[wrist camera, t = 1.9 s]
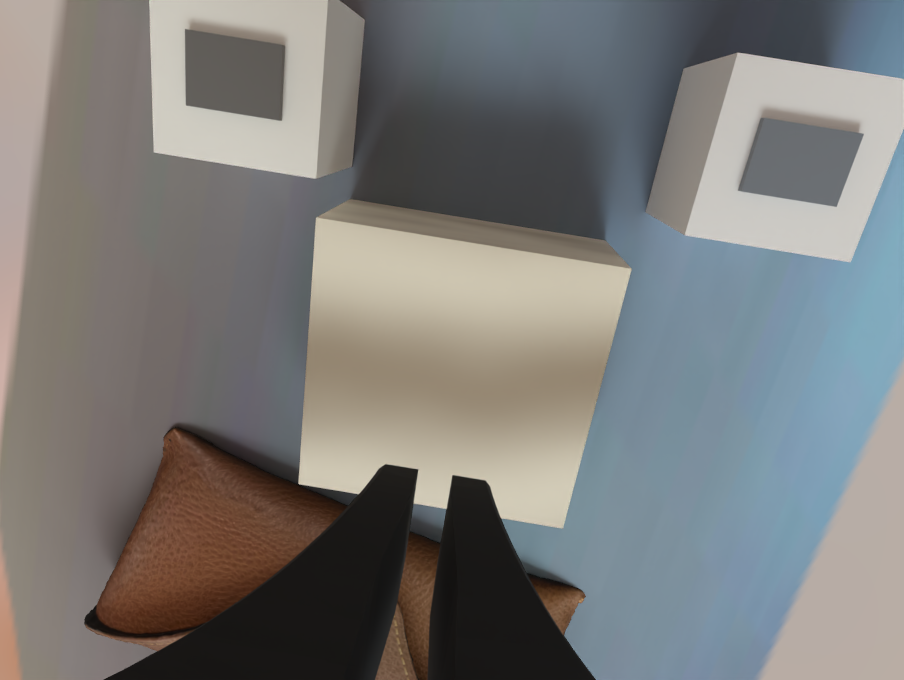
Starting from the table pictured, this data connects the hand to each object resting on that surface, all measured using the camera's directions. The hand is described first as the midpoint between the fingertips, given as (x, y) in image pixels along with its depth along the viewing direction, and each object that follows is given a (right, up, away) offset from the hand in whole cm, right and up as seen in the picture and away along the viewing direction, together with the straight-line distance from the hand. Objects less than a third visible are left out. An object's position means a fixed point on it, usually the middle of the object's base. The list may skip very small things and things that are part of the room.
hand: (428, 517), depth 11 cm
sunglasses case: (-4, -6, +13) cm, 15 cm away
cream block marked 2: (-4, +11, +7) cm, 13 cm away
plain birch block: (+1, +3, +9) cm, 10 cm away
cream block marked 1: (+9, +9, +6) cm, 14 cm away
